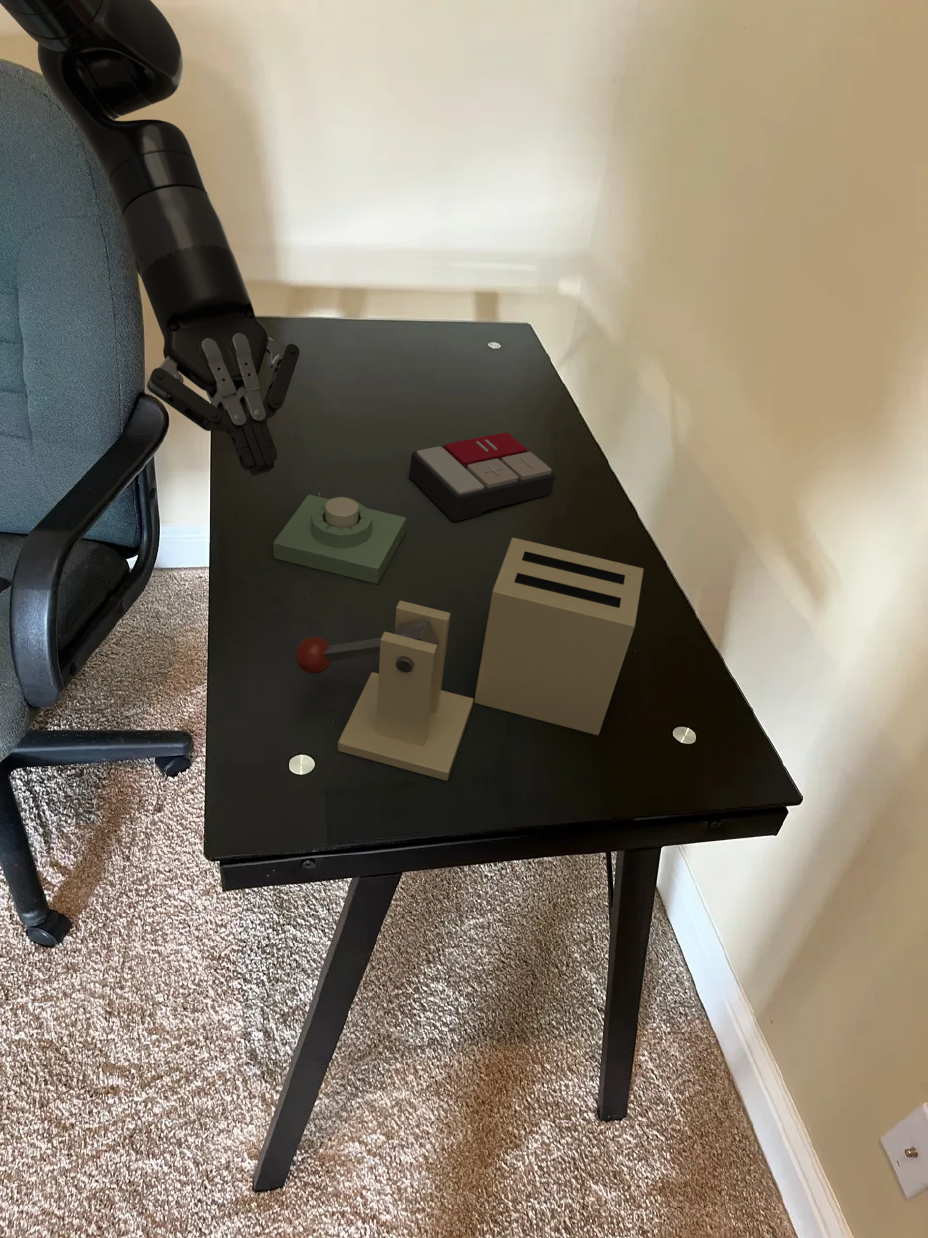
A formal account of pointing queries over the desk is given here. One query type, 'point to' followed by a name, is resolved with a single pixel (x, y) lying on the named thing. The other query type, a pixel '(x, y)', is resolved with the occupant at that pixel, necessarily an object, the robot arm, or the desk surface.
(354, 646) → the red-knobbed metal lever
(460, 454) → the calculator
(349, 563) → the switch block
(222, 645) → the desk surface
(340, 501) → the button
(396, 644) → the lever bracket
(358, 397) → the desk surface
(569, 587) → the toaster
